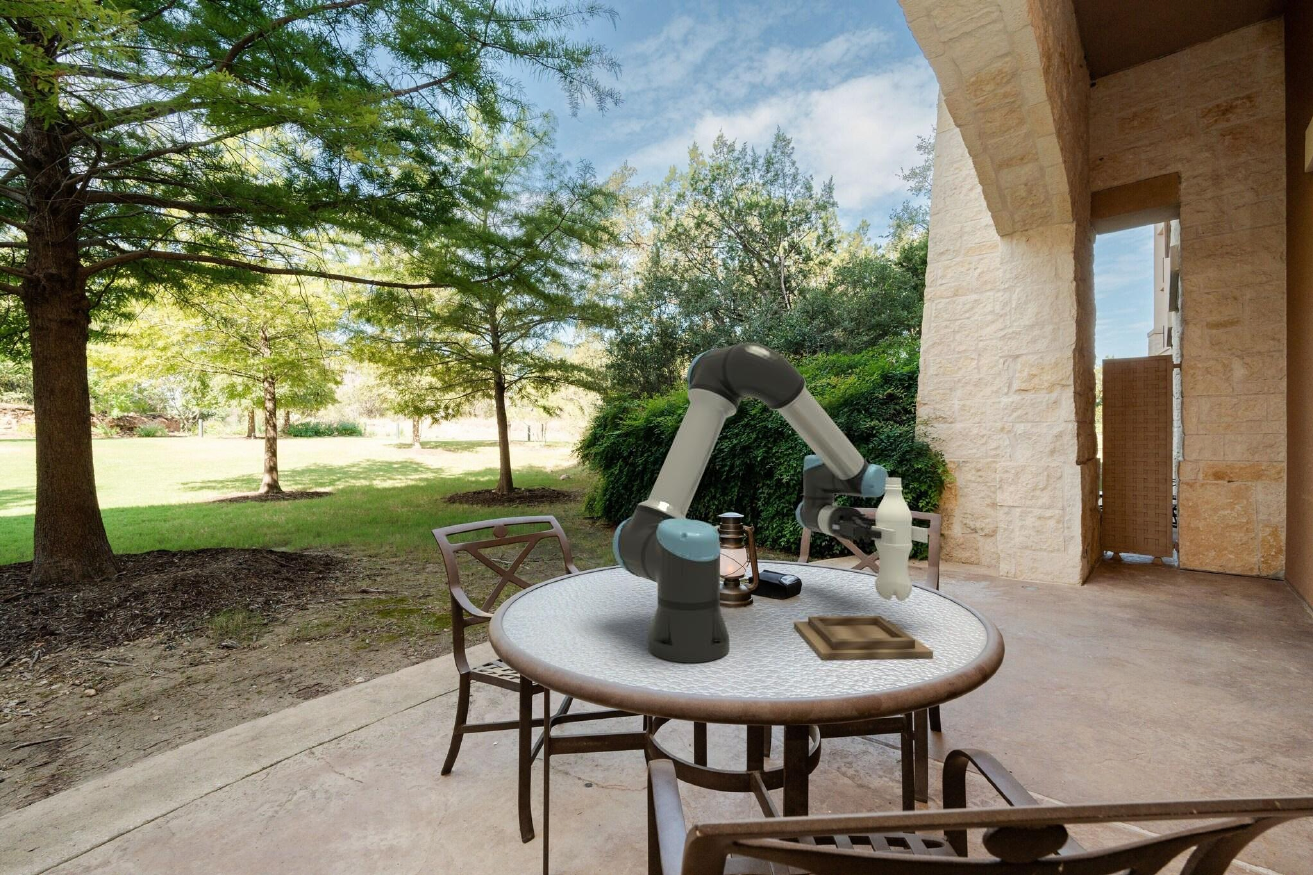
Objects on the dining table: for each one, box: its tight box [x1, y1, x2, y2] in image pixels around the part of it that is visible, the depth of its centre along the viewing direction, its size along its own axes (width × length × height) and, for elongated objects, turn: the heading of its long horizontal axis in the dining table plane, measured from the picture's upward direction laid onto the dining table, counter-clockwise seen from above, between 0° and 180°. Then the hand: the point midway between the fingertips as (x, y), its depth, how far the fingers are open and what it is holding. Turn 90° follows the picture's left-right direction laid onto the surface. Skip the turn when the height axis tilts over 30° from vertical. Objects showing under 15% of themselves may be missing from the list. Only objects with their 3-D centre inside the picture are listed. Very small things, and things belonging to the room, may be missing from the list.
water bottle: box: [874, 477, 913, 602], centre depth 122 cm, size 7×7×25 cm
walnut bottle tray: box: [793, 615, 934, 661], centre depth 113 cm, size 20×18×3 cm
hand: (910, 536), depth 118 cm, fingers closed on water bottle, 7 cm apart
